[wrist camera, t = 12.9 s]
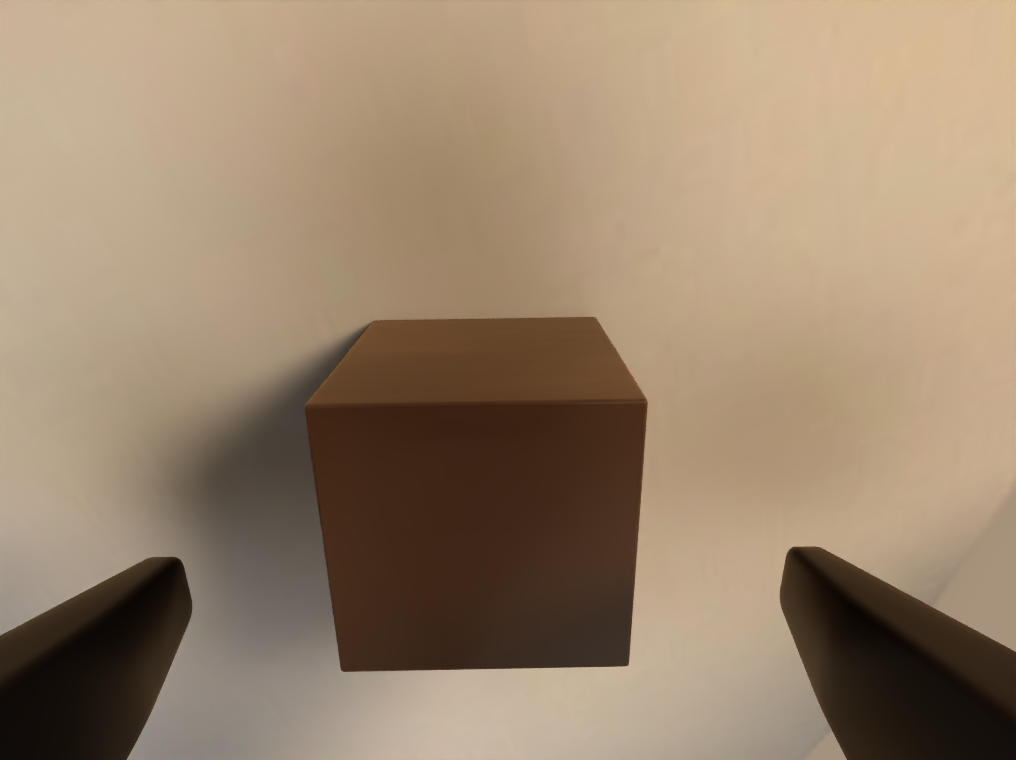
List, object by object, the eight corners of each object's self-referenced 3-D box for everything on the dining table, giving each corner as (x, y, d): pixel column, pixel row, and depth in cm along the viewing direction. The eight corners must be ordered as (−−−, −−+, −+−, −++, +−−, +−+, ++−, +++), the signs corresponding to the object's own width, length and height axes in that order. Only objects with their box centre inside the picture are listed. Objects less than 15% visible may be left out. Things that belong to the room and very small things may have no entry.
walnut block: (596, 316, 13) (649, 400, 9) (588, 510, 15) (629, 667, 10) (372, 319, 13) (302, 405, 9) (390, 513, 15) (340, 673, 10)
